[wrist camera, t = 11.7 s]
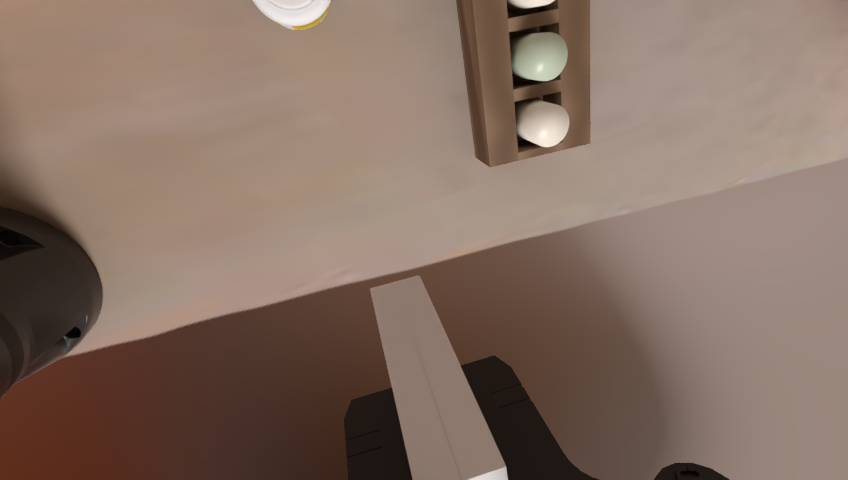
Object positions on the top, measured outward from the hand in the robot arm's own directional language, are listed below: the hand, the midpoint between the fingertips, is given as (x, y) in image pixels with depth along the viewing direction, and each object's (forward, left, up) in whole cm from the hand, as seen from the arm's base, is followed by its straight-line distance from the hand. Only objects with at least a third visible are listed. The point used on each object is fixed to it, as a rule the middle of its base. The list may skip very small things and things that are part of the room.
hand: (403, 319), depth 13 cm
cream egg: (+17, -2, -28) cm, 33 cm away
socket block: (+17, +4, -29) cm, 34 cm away
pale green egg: (+17, +4, -28) cm, 33 cm away
